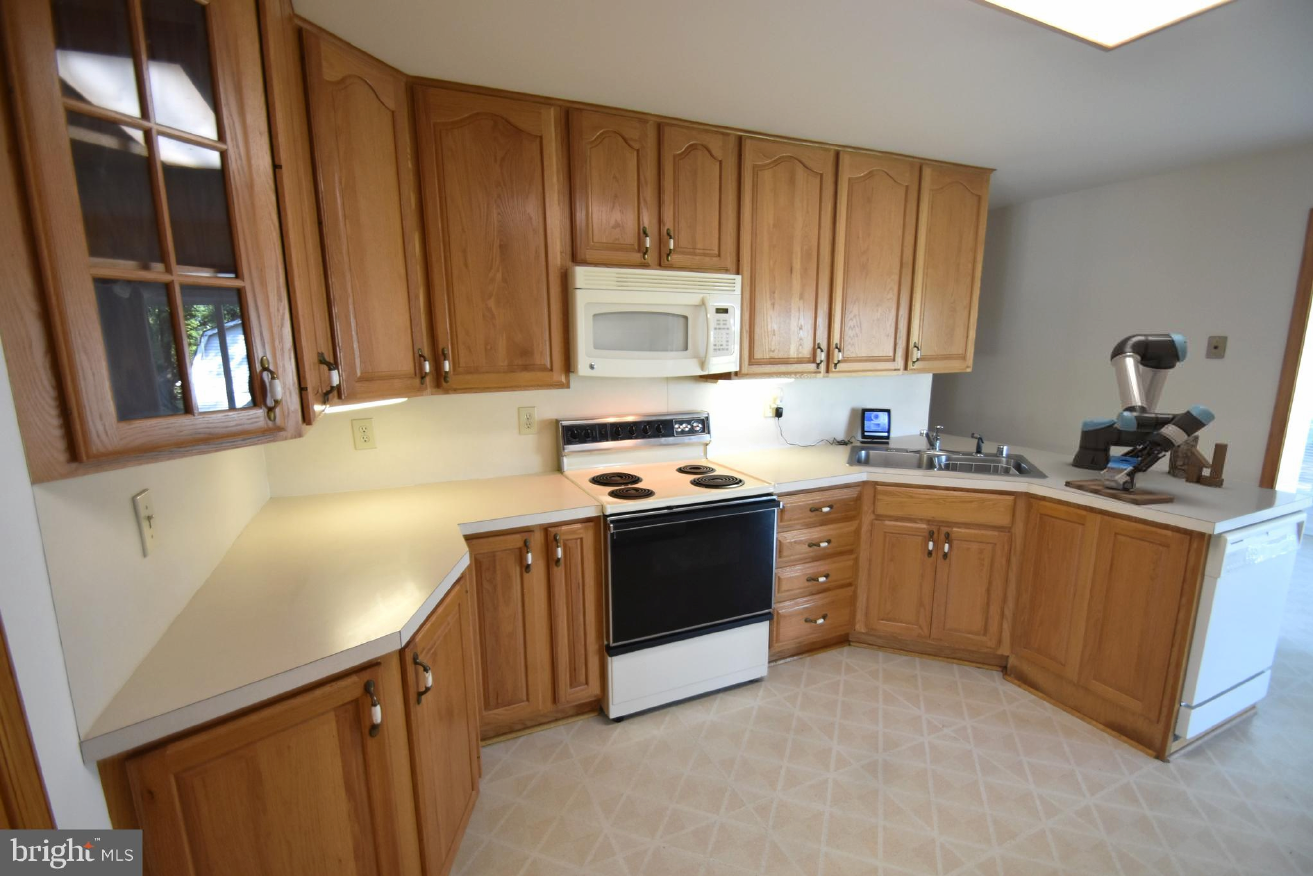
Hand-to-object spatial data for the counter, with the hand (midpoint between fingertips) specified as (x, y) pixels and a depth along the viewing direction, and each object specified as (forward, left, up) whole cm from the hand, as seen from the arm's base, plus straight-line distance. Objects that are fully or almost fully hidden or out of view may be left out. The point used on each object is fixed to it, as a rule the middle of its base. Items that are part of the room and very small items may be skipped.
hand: (1110, 478), depth 205 cm
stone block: (-17, +61, -7) cm, 64 cm away
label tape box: (+2, +3, -4) cm, 5 cm away
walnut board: (+1, +3, -6) cm, 7 cm away
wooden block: (-3, +54, -7) cm, 55 cm away
